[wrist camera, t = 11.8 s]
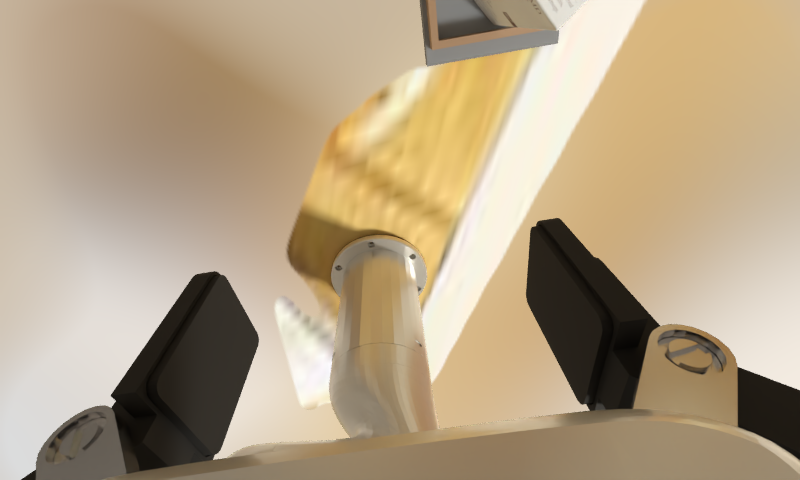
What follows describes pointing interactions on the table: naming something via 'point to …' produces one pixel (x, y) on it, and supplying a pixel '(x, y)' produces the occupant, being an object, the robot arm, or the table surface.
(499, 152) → the table surface
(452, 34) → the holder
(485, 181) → the table surface
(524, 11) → the skincare box
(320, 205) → the table surface
